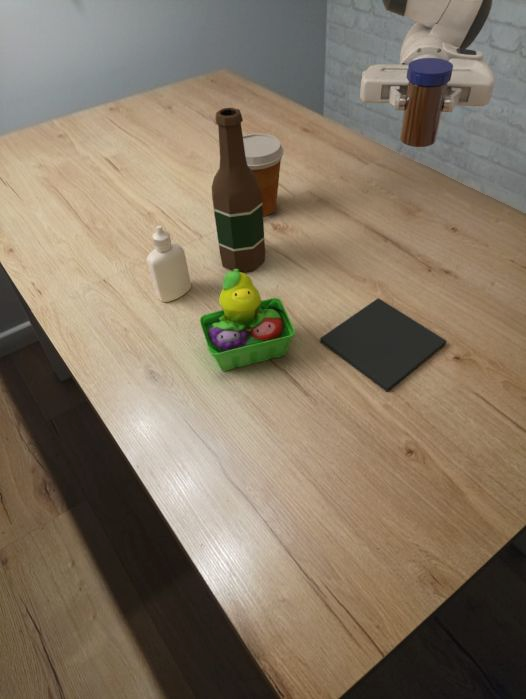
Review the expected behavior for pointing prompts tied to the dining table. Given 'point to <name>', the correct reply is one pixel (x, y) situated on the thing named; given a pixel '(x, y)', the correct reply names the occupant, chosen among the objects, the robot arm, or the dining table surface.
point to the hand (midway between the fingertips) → (424, 106)
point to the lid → (429, 72)
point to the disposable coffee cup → (264, 166)
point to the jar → (422, 114)
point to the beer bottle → (237, 199)
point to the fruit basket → (246, 325)
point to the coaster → (383, 343)
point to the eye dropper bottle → (168, 267)
